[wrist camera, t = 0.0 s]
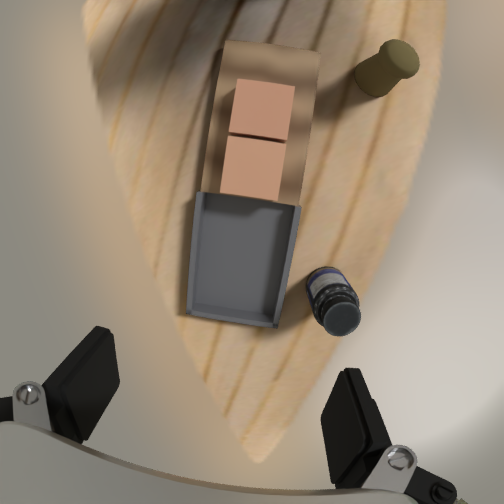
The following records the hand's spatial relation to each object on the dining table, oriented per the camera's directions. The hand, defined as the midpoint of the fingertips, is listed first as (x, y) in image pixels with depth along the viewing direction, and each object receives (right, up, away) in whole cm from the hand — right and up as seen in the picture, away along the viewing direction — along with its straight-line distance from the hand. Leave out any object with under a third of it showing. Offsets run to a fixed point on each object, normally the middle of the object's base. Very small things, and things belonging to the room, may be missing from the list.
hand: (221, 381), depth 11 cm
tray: (0, +4, +31) cm, 32 cm away
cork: (+19, +30, +23) cm, 43 cm away
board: (+3, +23, +26) cm, 35 cm away
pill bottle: (+12, 0, +32) cm, 34 cm away
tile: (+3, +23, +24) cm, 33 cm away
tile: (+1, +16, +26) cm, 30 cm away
